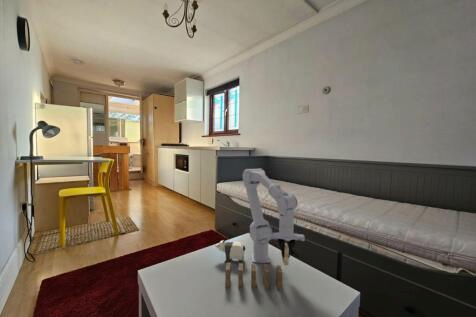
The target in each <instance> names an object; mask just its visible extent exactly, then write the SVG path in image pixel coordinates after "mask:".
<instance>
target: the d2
mask: <svg viewBox="0 0 476 317" xmlns="http://www.w3.org/2000/svg"><path fill="white" fill-rule="evenodd" d="M243 273H244V263H242V264H241V263H239V264H238V277H237V279H238V280H237V282H238V283H237V288H238V289H239V288H240V289H243V282H244V281H243V280H244V279H243V278H244V276H243V275H244V274H243Z"/></svg>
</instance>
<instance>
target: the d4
mask: <svg viewBox="0 0 476 317" xmlns="http://www.w3.org/2000/svg"><path fill="white" fill-rule="evenodd" d="M269 284H270V268H269V265H268V264H263V288H264V289H263V290H269Z"/></svg>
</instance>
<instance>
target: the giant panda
mask: <svg viewBox="0 0 476 317" xmlns="http://www.w3.org/2000/svg"><path fill="white" fill-rule="evenodd" d="M215 248H216V249H217V250H219V252H223V253H225V260H224V263H225V264H227V263H231V260H237V262H236V264H237V265H239V263H241V264H243V261H244V260H245V251H246V245H245V244H244V243H242V242H239V241H230V242H229V241H227V242H226V240H225V239H223V240H221V241H219V243H215Z"/></svg>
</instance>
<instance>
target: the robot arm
mask: <svg viewBox="0 0 476 317" xmlns="http://www.w3.org/2000/svg"><path fill="white" fill-rule="evenodd" d="M242 181H243V186H244V188H245V190H246V196H247V199H248V204H249V208H250V212H251V217H252V220H253V221H252V222H251V223H250V225H249V236H250V240H252V243H253V250H252V252H251V255H252V256H251V260H252V261H251V262H252V263H262V264H264V263H265V264H269V263H271V262H270V257H269V241H271V240H277V242H278V245H279V248H280V252H281V257H282V258H284V247H285V243H287V245H288V247H289V259H290V257H291V253H292V251H293V249H294V248H295V246H296V241H302V242H305V241H306V239H305V238H306V237H305V235H304V234H301V233H295V232H294V222H295V221H294V220H295V217H294V216H295V209H296V208H297V207H298V198H297V197H296V195H294V194H293V193H288V191H285V190H284V189H283V188H282V187H281V184H278V183H273V182H272V180H270V178H269V177H268V176H267V174H266V171H265V170H263V169H262V168H260V167H259V168H245V169H244V170H243V172H242ZM260 184H261V185H262V186H263V187H265V188H266V189H267V190H268V191H267V192H268V195H270V197H271V198H272V199H274V201H275V202H276V205H277V209H278V214H279V218H278V219H279V223H278V226H279V227H278V231H279V232H273V229H272V227H271V226H270V222H269V221H268V220H266V219H265V218H264V213H263V210H262V207H261V201H260V197H259V195H258V194H259V193H258V188H257V187H258V186H259V185H260ZM285 241H286V242H285Z"/></svg>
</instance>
